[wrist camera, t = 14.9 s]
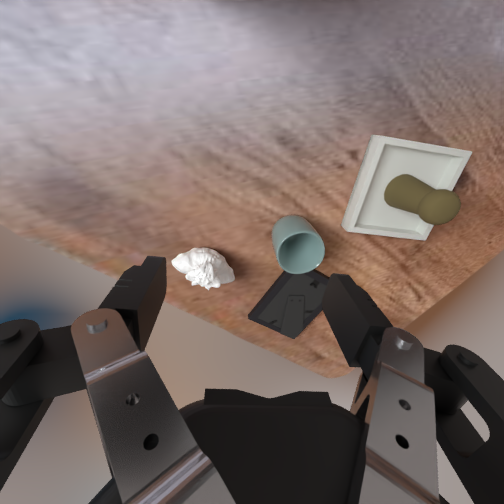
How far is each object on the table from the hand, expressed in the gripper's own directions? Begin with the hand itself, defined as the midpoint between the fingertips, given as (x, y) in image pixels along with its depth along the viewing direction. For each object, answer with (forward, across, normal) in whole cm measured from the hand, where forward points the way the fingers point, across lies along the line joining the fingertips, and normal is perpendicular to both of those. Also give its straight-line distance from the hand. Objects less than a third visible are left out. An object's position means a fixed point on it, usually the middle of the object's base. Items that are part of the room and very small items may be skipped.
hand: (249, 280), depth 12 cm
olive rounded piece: (+32, -29, 0) cm, 44 cm away
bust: (+33, +4, +18) cm, 38 cm away
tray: (+33, -29, 0) cm, 44 cm away
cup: (+33, -11, +10) cm, 36 cm away
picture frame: (+34, -16, +27) cm, 46 cm away
